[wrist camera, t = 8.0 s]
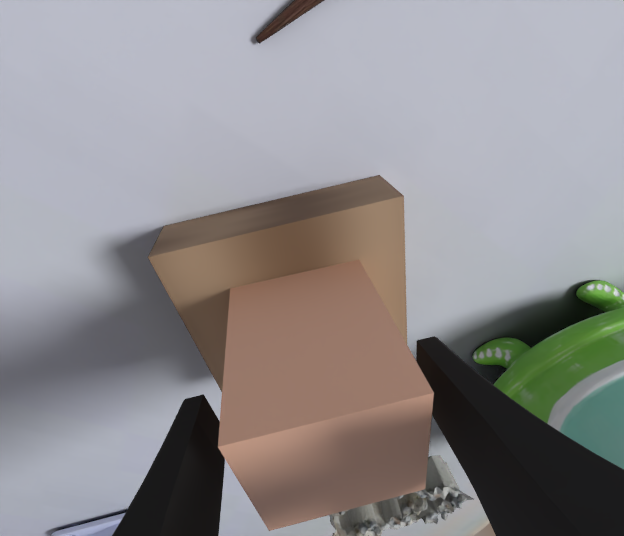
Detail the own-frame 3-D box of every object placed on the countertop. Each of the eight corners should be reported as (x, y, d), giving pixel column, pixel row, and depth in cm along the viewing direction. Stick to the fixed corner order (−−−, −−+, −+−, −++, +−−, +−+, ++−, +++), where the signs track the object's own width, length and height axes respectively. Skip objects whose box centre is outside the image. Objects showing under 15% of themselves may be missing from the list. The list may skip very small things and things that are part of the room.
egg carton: (315, 498, 29) (324, 557, 25) (344, 450, 25) (359, 511, 22) (418, 494, 32) (438, 546, 28) (457, 451, 28) (485, 504, 25)
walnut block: (233, 362, 18) (231, 410, 16) (166, 220, 13) (148, 257, 11) (386, 323, 19) (407, 363, 16) (375, 171, 14) (403, 195, 11)
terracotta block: (262, 373, 15) (269, 530, 10) (230, 288, 12) (217, 446, 7) (367, 348, 15) (425, 489, 10) (359, 259, 12) (433, 392, 7)
